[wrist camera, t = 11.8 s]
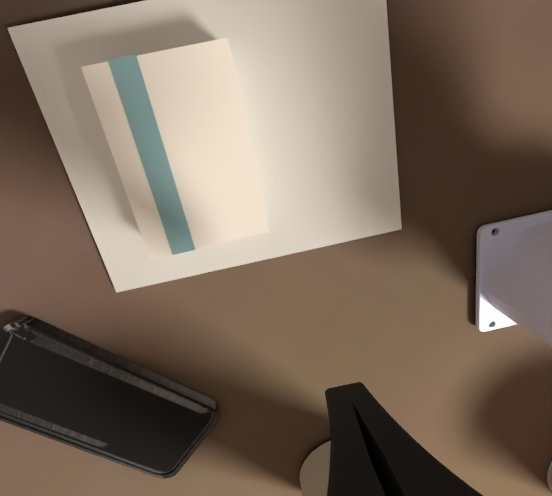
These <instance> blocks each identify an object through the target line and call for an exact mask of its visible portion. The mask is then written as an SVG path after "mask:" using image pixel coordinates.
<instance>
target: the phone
mask: <svg viewBox="0 0 552 496" xmlns="http://www.w3.org/2000/svg"><path fill="white" fill-rule="evenodd" d="M218 415H219V406H218V404H217V403H216V401H214V400H213V399H211V398H209V397H207V396H204V395H202V394H200V393H198V392H196V391H193V390H191V389H189V388H187V387H185V386H183V385H180V384H178V383H176V382H174V381H172V380H170V379H167V378H165V377H163V376H161V375H159V374H156V373H154V372H152V371H150V370H148V369H146V368H143V367H141V366H139V365H137V364H135V363H132V362H130V361H128V360H126V359H124V358H122V357H119V356H117V355H115V354H113V353H111V352H108V351H106V350H104V349H102V348H100V347H98V346H95V345H93V344H91V343H89V342H87V341H85V340H82V339H80V338H78V337H76V336H74V335H71V334H69V333H67V332H65V331H63V330H61V329H58V328H56V327H54V326H52V325H50V324H47V323H45V322H43V321H41V320H39V319H37V318H34V317H31V316H20V317H17V318H15V319H13V320H12V321H11V322H9V323H8V324H7V325H5V326H4V327H3V328H2V330H1V331H0V420H1V421H4V422H7V423H9V424H12V425H15V426H18V427H20V428H23V429H26V430H29V431H31V432H34V433H37V434H40V435H42V436H45V437H48V438H51V439H53V440H56V441H59V442H61V443H64V444H67V445H70V446H72V447H75V448H78V449H81V450H83V451H86V452H89V453H92V454H94V455H97V456H100V457H102V458H105V459H108V460H111V461H113V462H116V463H119V464H122V465H124V466H127V467H130V468H133V469H135V470H138V471H141V472H143V473H146V474H149V475H152V476H154V477H157V478H170V477H172V476H174V475H176V474H177V473H178V472H179V470H180V469H181V468H182V467H183V465H184V464H185V463H186V462H187V460H188V459H189V458H190V457H191V455H192V454H193V453H194V451H195V450H196V449H197V448H198V446H199V445H200V444H201V443H202V441H203V440H204V439H205V438H206V436H207V435H208V434H209V433H210V431H211V430H212V429H213V427H214V426H215V425H216V423H217V422H218Z"/></svg>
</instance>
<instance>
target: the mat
mask: <svg viewBox="0 0 552 496" xmlns="http://www.w3.org/2000/svg"><path fill="white" fill-rule="evenodd" d="M7 29H8V31H9V34H10V36H11V39H12V41H13V43H14V46H15V48H16V51H17V53H18V55H19V58H20V60H21V63H22V65H23V68H24V70H25V72H26V75H27V77H28V80H29V82H30V85H31V87H32V89H33V92H34V94H35V97H36V99H37V101H38V104H39V106H40V109H41V111H42V114H43V116H44V118H45V121H46V123H47V126H48V128H49V131H50V133H51V135H52V138H53V140H54V143H55V145H56V147H57V150H58V152H59V155H60V157H61V160H62V162H63V164H64V167H65V169H66V172H67V174H68V177H69V179H70V181H71V184H72V186H73V189H74V191H75V193H76V196H77V198H78V201H79V203H80V206H81V208H82V210H83V213H84V215H85V218H86V220H87V223H88V225H89V227H90V230H91V232H92V235H93V237H94V239H95V242H96V244H97V247H98V249H99V252H100V254H101V256H102V259H103V261H104V264H105V266H106V268H107V271H108V273H109V276H110V278H111V281H112V283H113V285H114V288H115V290H116V293H117V292H121V291H126V290H130V289H135V288H139V287H144V286H148V285H153V284H157V283H162V282H166V281H171V280H175V279H180V278H184V277H189V276H193V275H198V274H202V273H207V272H211V271H216V270H220V269H225V268H229V267H234V266H238V265H243V264H247V263H252V262H256V261H261V260H265V259H270V258H274V257H279V256H283V255H288V254H292V253H297V252H301V251H306V250H311V249H315V248H320V247H324V246H329V245H333V244H338V243H342V242H347V241H351V240H356V239H360V238H365V237H369V236H374V235H378V234H383V233H387V232H392V231H396V230H401V229H402V224H401V210H400V195H399V180H398V166H397V151H396V136H395V122H394V107H393V92H392V77H391V63H390V48H389V33H388V19H387V4H386V0H145V1H140V2H135V3H130V4H125V5H120V6H115V7H110V8H105V9H100V10H94V11H89V12H84V13H79V14H74V15H69V16H64V17H59V18H54V19H49V20H44V21H39V22H34V23H29V24H24V25H19V26H14V27H9V28H7ZM227 37H228V41H229V46H230V50H231V55H232V60H233V64H234V69H235V74H236V78H237V83H238V87H239V92H240V97H241V101H242V106H243V111H244V115H245V120H246V124H247V129H248V134H249V138H250V143H251V148H252V152H253V157H254V161H255V166H256V171H257V175H258V180H259V185H260V189H261V194H262V198H263V203H264V208H265V212H266V217H267V222H268V226H269V231H270V232H267V233H263V234H259V235H254V236H250V237H245V238H241V239H236V240H232V241H227V242H223V243H218V244H214V245H210V246H205V247H201V248H196V250H193V251H188V252H184V253H179V254H175V255H173V254H169V255H165V256H161V257H156V258H152V259H150V258H149V255H148V252H147V249H146V247H145V244H144V241H143V238H142V236H141V233H140V230H139V227H138V224H137V222H136V219H135V216H134V213H133V211H132V208H131V205H130V202H129V199H128V197H127V194H126V191H125V188H124V186H123V183H122V180H121V177H120V175H119V172H118V169H117V166H116V163H115V161H114V158H113V155H112V152H111V150H110V147H109V144H108V141H107V138H106V136H105V133H104V130H103V127H102V125H101V122H100V119H99V116H98V113H97V111H96V108H95V105H94V102H93V100H92V97H91V94H90V91H89V88H88V86H87V83H86V80H85V77H84V75H83V72H82V69H81V67H83V66H88V65H93V64H98V63H102V62H107V61H108V60H109V59H114V58H119V57H124V56H129V55H134V54H136V55H142V54H147V53H152V52H157V51H162V50H167V49H172V48H177V47H182V46H187V45H192V44H197V43H202V42H207V41H212V40H217V39H222V38H227Z"/></svg>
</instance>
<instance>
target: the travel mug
mask: <svg viewBox="0 0 552 496" xmlns="http://www.w3.org/2000/svg"><path fill="white" fill-rule="evenodd" d="M330 444H331V441H328V442H326V443H324V444H323V445H321V446H319V447H318V448H317V449H315V450H314V451H313V452H312V453H311V454H310V455H309V456H308V457H307V458H306V460H305V461H304V463H303V465H302V468H301V471H300V484H301V490H302V496H327V490H328V480H329V467H330Z"/></svg>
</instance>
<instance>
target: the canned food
mask: <svg viewBox="0 0 552 496" xmlns="http://www.w3.org/2000/svg"><path fill="white" fill-rule="evenodd" d="M547 482H548V486H549V488H550V490H551V491H552V460H551V462H550V465H549V468H548V472H547Z"/></svg>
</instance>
